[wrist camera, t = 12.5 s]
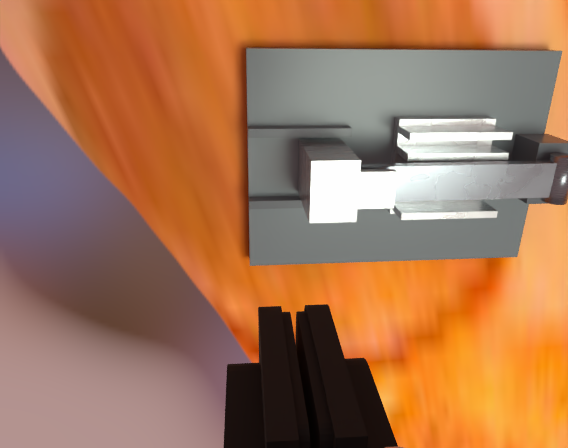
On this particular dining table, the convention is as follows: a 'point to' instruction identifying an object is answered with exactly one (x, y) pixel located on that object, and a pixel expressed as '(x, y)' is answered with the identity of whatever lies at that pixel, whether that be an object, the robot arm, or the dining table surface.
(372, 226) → the socket board
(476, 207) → the heatsink
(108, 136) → the dining table surface
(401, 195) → the silver metal bar
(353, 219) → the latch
